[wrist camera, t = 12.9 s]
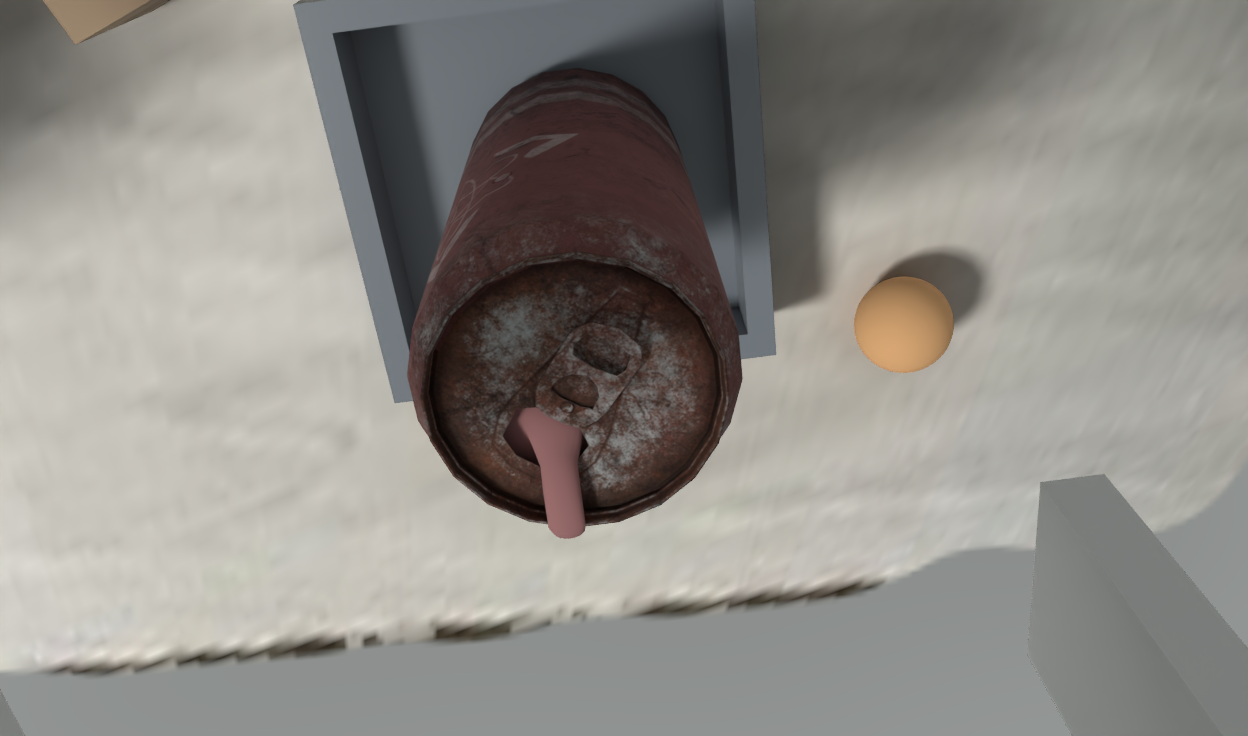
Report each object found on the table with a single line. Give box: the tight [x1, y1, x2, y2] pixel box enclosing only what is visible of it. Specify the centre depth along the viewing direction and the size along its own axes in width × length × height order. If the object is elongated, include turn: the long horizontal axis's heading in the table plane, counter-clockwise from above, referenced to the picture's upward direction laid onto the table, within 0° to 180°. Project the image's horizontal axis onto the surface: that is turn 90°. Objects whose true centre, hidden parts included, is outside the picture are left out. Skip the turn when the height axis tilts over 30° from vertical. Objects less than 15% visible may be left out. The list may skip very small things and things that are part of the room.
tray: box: [293, 0, 776, 403], centre depth 30 cm, size 12×12×3 cm
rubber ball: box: [854, 276, 954, 373], centre depth 33 cm, size 3×3×3 cm
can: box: [407, 68, 742, 539], centre depth 25 cm, size 6×6×14 cm
